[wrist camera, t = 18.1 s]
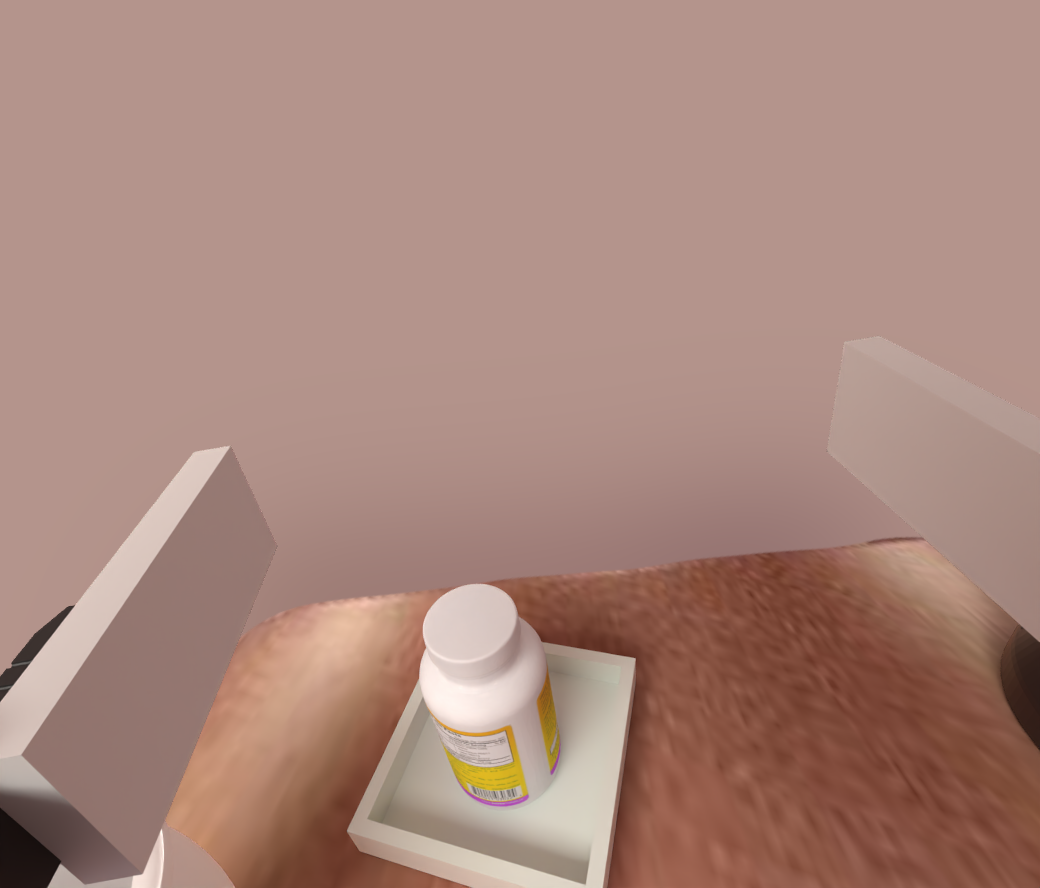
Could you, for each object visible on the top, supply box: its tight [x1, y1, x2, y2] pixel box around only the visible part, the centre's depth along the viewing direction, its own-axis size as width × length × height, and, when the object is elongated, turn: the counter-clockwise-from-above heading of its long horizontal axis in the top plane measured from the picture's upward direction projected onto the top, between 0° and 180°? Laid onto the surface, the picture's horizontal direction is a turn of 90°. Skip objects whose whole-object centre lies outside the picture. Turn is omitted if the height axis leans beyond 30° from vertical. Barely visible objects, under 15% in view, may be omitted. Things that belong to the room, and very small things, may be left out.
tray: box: [347, 642, 636, 888], centre depth 34 cm, size 14×14×2 cm
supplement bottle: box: [419, 584, 561, 810], centre depth 31 cm, size 7×7×13 cm
